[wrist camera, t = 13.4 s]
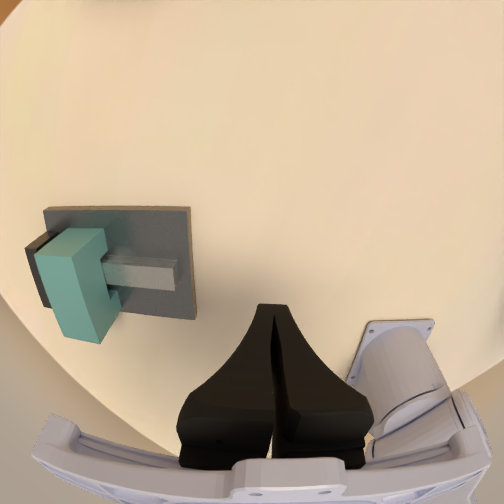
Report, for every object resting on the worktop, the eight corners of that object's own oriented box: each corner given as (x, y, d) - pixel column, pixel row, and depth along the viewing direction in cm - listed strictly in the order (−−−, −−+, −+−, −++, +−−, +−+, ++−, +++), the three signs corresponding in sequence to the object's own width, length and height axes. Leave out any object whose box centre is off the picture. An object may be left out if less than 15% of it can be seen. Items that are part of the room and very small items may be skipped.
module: (103, 228, 21) (71, 257, 17) (121, 308, 25) (100, 344, 21) (67, 228, 22) (33, 254, 17) (87, 303, 25) (64, 336, 21)
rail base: (190, 206, 21) (173, 230, 17) (196, 313, 26) (186, 347, 22) (49, 206, 22) (18, 225, 18) (71, 297, 26) (50, 323, 22)
